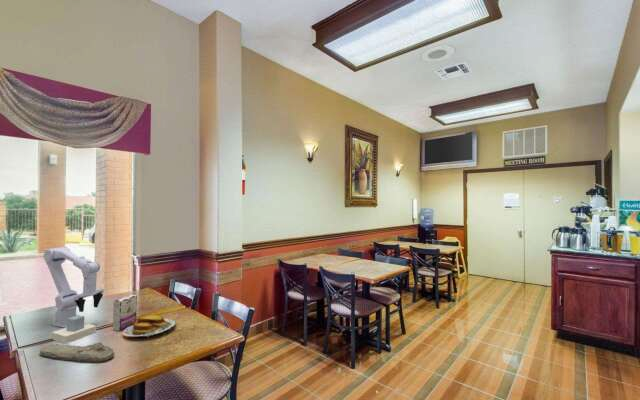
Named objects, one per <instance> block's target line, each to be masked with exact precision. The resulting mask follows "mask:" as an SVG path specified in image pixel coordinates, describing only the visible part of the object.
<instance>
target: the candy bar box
mask: <svg viewBox="0 0 640 400" xmlns="http://www.w3.org/2000/svg"><path fill="white" fill-rule="evenodd" d="M137 298H138V295H137V294H128V295H126V296H122V297H119V298H117V299H114V300H113V310H112V311H113V312H112V313H113V314H112V315H113V316H112V322H113V323H112V331H116V332H117V331H118V332H122V331H124V330H125V329H126V328H127V327H130V326H132V325H134V323H135V322H137V309H138V308H137V307H138V305H137V304H138V303H137V302H138V300H137ZM126 330H127V329H126Z"/></svg>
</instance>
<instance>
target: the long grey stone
mask: <svg viewBox="0 0 640 400" xmlns="http://www.w3.org/2000/svg"><path fill="white" fill-rule="evenodd" d="M113 350H114V349H113V348H111V347H110V346H107V345H104V344H103V343H102V342H96V343H94V344H87V345H84V346H80V345H69V344H59V343H56V344H55V343H54V344H49V345H46V346H44V347H42V348H41V349H40V351H39V355H40V356H41V357H45V358H52V359H59V360H63V361H76V362H82V363H83V362H85V363H86V362H87V363H95V362H97V363H99V362H106V361H108V360H111V359H112V358H113V357H114V355H115V352H114V351H113Z"/></svg>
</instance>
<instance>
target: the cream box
mask: <svg viewBox="0 0 640 400" xmlns="http://www.w3.org/2000/svg"><path fill="white" fill-rule="evenodd" d="M66 329H67V327H65V328H64V327H63V328H61V329H58V330H55V331H52V332H51V340H52V339H53V341H56V342H58V343H62V344H64V345H67V344H69V343H71V342H74V341H76V339H77V340H80V339H83V338H84V337H87V336H90V335H94V334H96V333H97V326H96V325H93V324H90V323H86V322H84V328H82V329H80V330H77V331H75V332H73V331H66ZM68 342H69V343H68Z"/></svg>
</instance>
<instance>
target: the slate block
mask: <svg viewBox="0 0 640 400" xmlns="http://www.w3.org/2000/svg"><path fill="white" fill-rule="evenodd" d="M84 323H85V315H78V314H76V316H73V317H70V318H68V319H67V327H66V328H67V329H66V331H73V332H75V331H77V330H80V329H82V328H84Z"/></svg>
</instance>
